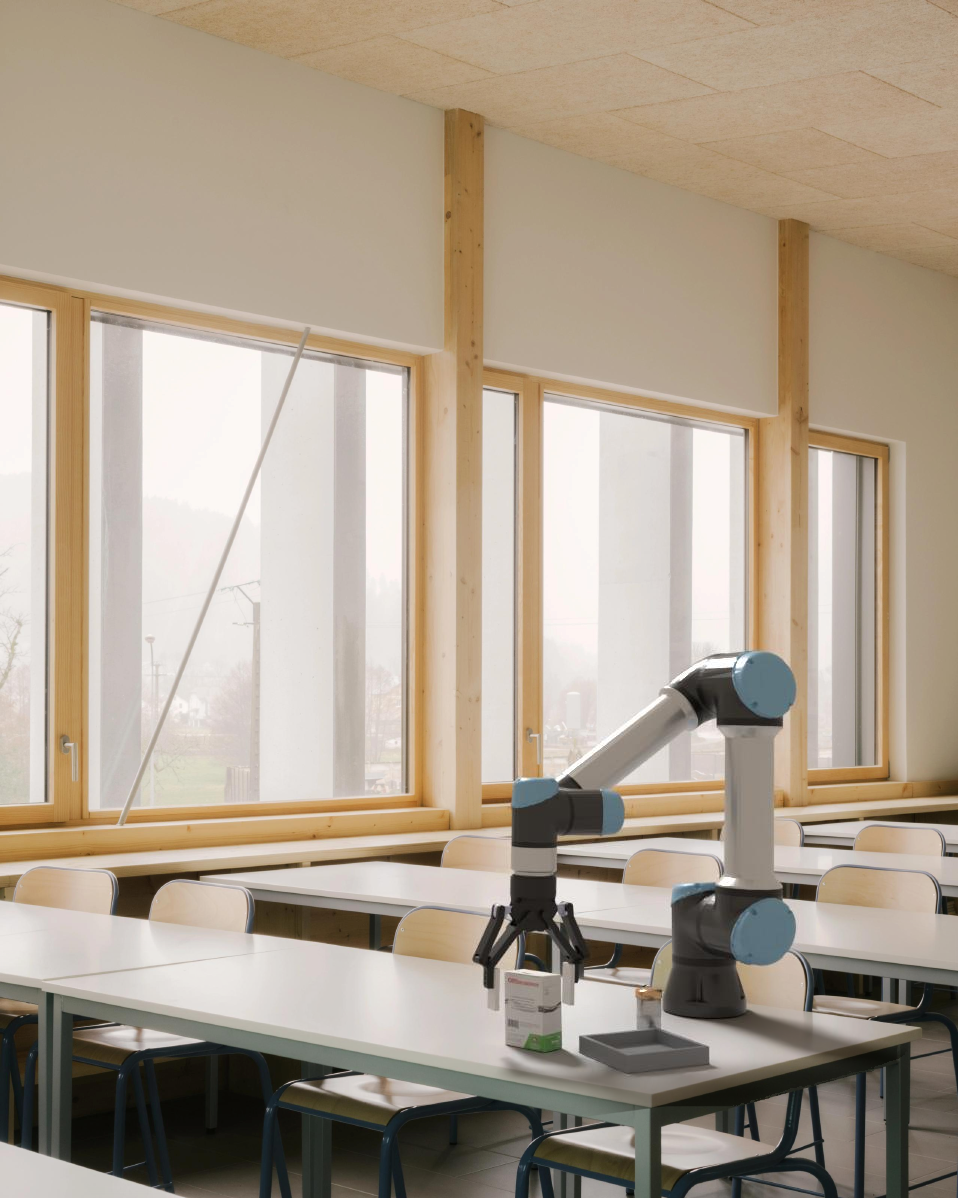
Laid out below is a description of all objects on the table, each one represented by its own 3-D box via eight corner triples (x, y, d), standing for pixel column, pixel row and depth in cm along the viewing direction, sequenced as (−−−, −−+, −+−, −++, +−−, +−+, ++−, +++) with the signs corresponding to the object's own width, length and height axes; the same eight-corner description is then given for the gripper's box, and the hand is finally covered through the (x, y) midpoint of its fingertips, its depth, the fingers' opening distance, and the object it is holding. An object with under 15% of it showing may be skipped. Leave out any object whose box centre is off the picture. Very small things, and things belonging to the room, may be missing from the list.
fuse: (653, 1035, 235) (652, 986, 236) (667, 1040, 231) (667, 991, 232) (630, 1037, 233) (630, 988, 234) (644, 1043, 229) (644, 993, 230)
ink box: (563, 1048, 225) (563, 973, 226) (543, 1053, 222) (543, 977, 223) (523, 1040, 231) (523, 966, 232) (502, 1045, 228) (503, 970, 229)
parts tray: (657, 1044, 229) (657, 1027, 229) (709, 1064, 216) (709, 1046, 216) (579, 1052, 222) (579, 1035, 223) (627, 1073, 209) (627, 1055, 210)
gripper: (588, 869, 238) (586, 998, 236) (454, 872, 227) (451, 1007, 225) (611, 873, 231) (609, 1006, 229) (474, 877, 220) (471, 1016, 218)
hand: (531, 1007), depth 227 cm, fingers open, 13 cm apart
